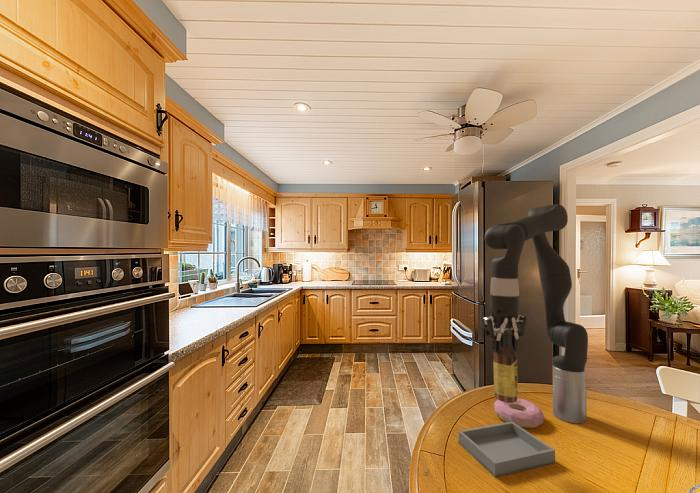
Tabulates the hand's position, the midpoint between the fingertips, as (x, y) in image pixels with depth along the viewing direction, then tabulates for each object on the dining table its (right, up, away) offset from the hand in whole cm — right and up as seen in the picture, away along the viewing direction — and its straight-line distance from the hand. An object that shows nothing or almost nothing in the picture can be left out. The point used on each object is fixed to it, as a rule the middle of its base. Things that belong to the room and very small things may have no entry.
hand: (504, 351), depth 89 cm
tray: (0, -29, -1) cm, 29 cm away
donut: (+14, -30, +18) cm, 37 cm away
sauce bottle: (0, -14, 0) cm, 14 cm away
